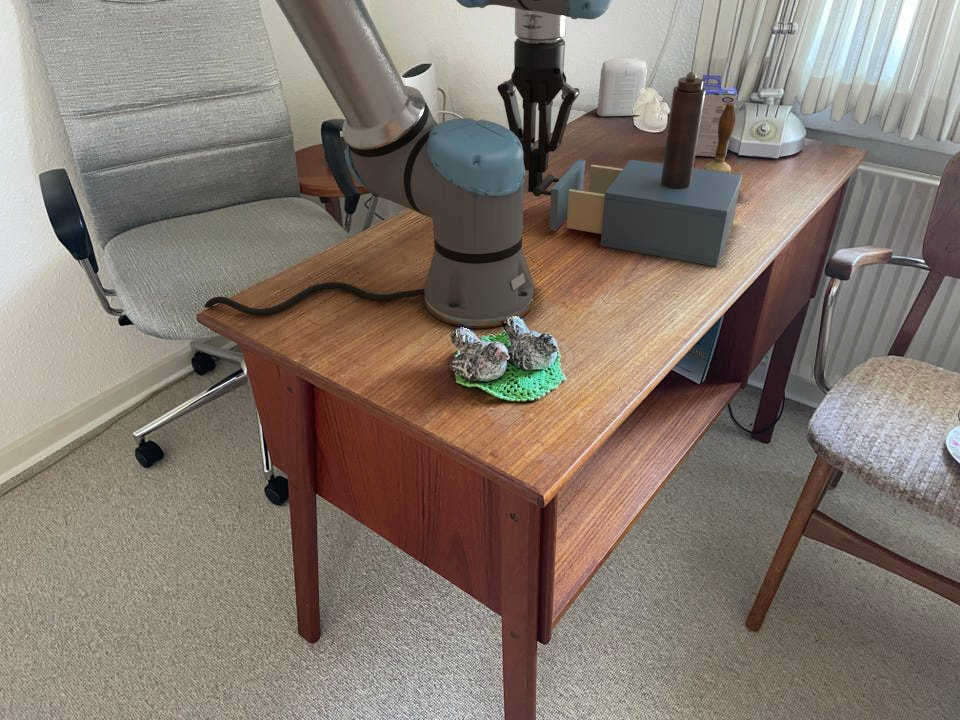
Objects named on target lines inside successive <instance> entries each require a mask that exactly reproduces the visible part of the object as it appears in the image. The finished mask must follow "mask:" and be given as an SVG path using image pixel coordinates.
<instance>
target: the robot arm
mask: <svg viewBox="0 0 960 720" xmlns="http://www.w3.org/2000/svg"><path fill="white" fill-rule="evenodd" d="M455 1H456V2H457V3H458V4H459V5H461V6H462V7H464V8H467V9H476V8H480V9H484V8H485V7H487V6H499V7H500V6H501V7H506V8H512V9H514V35H515V37H516V39H515V40H514V43H513V46H514V47H513V52H514V53H513V62H514V63H513V64H514V65H513V66H514V68H513V71H512V73H511V77H510V78H509V79H508V80H505V81H503V82H501V83H500V84H499V85H498V86H497V88H496V89H497V92H498V93H499V95H500V97H501V99H502V100H503V101H502V102H503V105H504V111H505V115H506V120H507V124H508V128H507V127H506V126H504V125H501V124H499V123H496V122H493V121H490V120H486V119H479V120H475V119H474V118H470V117H469V118H468V117H467V118H465V117H464V118H452V119H448V120H444V121H441V122H440V123H438V122H437V121H436V120H435V118H434V116H433V114H432V112H431V110H430V107H429V106H428V104H427V102H426V100H425V97H424V95H423V94H422V92H421V91H420V90H419V89H417V88H416V87H413V86H409V85H405V84H404V81H403V80H402V77H401V75H400V73H399V71H398V69H397V68H396V66H395V63H394V61H393V59H392V57H391V55H390V53H389V51H388V49H387V47H386V45H385V43H384V41H383V39H382V37H381V35H380V33H379V30H378V29H377V27H376V25H375V23H374V21H373V19H372V17H371V15H370V13H369V11H368V9H367V6H366V4H365V2H364V1H363V0H275V2H276V4H277V6H278V8H279V9H280V10H281V12H282V14H283V16H284V17H285V19H286V21H287V22H288V24H289V26H290V27H291V29H292V31H293V32H294V34H295V36H296V38H297V39H298V41H299V43H300V44H301V47H303V49H304V51H305V53H306V55H307V56H308V58H309V60H310V61H311V62H312V64H313V66H314V68H315V70H316V71H317V73H318V75H319V76H320V78H321V80H322V81H323V83H324V85H325V86H326V89H327V90H328V92H329V93H330V95H331V96H332V98H333V100H334V102H335V104H336V105H337V106H338V108H339V110H340V112H341V113H342V115H343V117H344V118H345V119H344V122H343V125H342V129H341V134H342V137H343V139H344V143H345V144H346V148H345V149H344V152H343V153H344V159H345V162H346V165H347V169H348V171H349V172H350V175H351V176H352V177H353V179H354V180H355V181H356V182H357V183H358V184H359V185H360V186H361V187H363V188H364V189H365V190H367V191H368V192H370V193H371V194H373V195H375V196H376V197H379V198H381V199H384V200H387V201H390V202H392V203H394V204H397V205H400V206H402V207H404V208H407V209H409V210H412V211H414V212H416V213H419V214H421V215H423V216H425V217H428V218H430V219H431V220H432V229H433V239H434V240H433V241H434V250H433V254H432V257H431V261H430V265H429V267H428V272H427V274H426V275H427V276H426V278H425V282H424V287H423V288H418V289H410V290H403V291H397V292H393V293H387V294H379V293H372V292H368V291H366V290H364V289H361V288H358V287H356V286H355V285H352V284H349V283H346V282H340V281H330V282H329V281H328V282H322V283H317V284H314V285H312V286H309V287H307V288H305V289H304V290H302V291H300V292H298V293H297V294H295V295H294V296H292V297H290V298H289V299H287V300H285V301H284V302H281V303H279V304H276V305H274V306H269V307H264V308H255V307H251V306H246V305H244V304H242V303H239V302H238V301H235V300H234V299H231V298H228V297H225V296H214V297H212V298H210V299H208V301H206V302H205V304H204V306H203V308H204V309H209V308H212V307H214V306H215V305H217V304H223V305H225V306H228V307H230V308H232V309H234V310H236V311H239V312H241V313H244V314H247V315H249V316H250V315H251V316H259V317H260V316H269V315H275V314H276V313H280V312H282V311H285V310H287V309H288V308H291V307H292V306H294V305H295V304H297V303H298V302H300V301H301V300H303V299H305V298H306V297H308V296H310V295H312V294H314V293H317V292H319V291H320V292H321V291H325V290H334V289H336V290H342V291H346V292H350V293H351V294H354V295H357V296H359V297H361V298H363V299H366V300H369V301H374V302H391V301H396V300H401V299H406V298H407V299H408V298H414V297H422V296H424V297H423V301H424V306H425V308H426V310H427V311H428V313H430V314H431V316H433V317H434V318H436V319H437V320H439V321H441V322H443V323H446V324H448V325H452V326H454V327H455V326H456V327H460V326H464V327H463V328H469V329H487V328H496V327H501V326H504V325H503V324H504V321H505V320H506V319H507V318H509V317H512V316H519V317H521V318H524V317H525V316H526V315H527V314H528V313H529V312H530V311H531V310H532V308H533V307H534V304H535V296H536V295H535V284H534V283H535V282H534V279H533V276H532V274H531V271H530V267H529V265H528V264H529V263H528V261H527V258H526V256H525V252H524V250H523V233H524V232H523V229H524V228H523V227H524V203H525V201H524V200H525V179H526V171H528V180H527V181H528V183H527V184H528V185H527V192H528V193H533V189H534V188H535V187H536V186H537V185H538V184H539V183H540V182H541V181H542V180H543V176H544V175H543V174H544V173H545V172H547V170H548V169H549V158H550V157H549V156H550V152H551V153H552V152H555V151H556V150H558V149H559V148H560V147H561V145H562V141H563V138H564V135H565V132H566V128H567V124H568V121H569V118H570V115H571V110H572V107H573V105H574V102H575V101H576V100H577V98H578V97H579V95H580V94H581V90H580V89H579V88H578V87H573V86H572V85H570V84H569V83H568V82H567V76H566V74H565V70H564V68H565V53H566V52H565V51H566V49H565V48H566V41H565V40H564V38H563V37H565V36H566V33H567V18H571V19H572V20H577V19H579V20H580V19H582V20H596V19H598V18H600V17H602V16H603V15H604V14H605V12H607V10H608V9H609V8H610V6H611V4H612V2H613V0H455ZM516 90H517V91H516ZM516 92H518V94H519V96H520V97H521V99H522V109H523V118H521V114H520V113H521V112H520V108H519V104H518V98H517V94H516ZM560 92H561V95H560V98H561V100H562V102H561V104H560V106H559V110H558V113H557V116H556V120H555V124H554V126H553V131H552V111H553V110H552V108H553V104H554V99H555V98H556V97H557V96H558V94H559V93H560ZM537 109H538V131H537V132H538V133H537V134H538V135H537V142H536V125H537ZM522 119H523V120H522ZM551 133H552V134H551ZM536 145H537V147H535V146H536Z"/></svg>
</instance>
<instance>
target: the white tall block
mask: <svg viewBox="0 0 960 720" xmlns="http://www.w3.org/2000/svg"><path fill="white" fill-rule="evenodd" d="M647 72H648V71H647V62H646V61H645V60H643V59H640V58H637V57H636V58H635V57H628V56H627V57H626V56H625V57H614V58H611V59H608V60H606V61H603V62H602V65H601V70H600V78H599V90H598V100H597V110H596V114H597V115H598V116H599V117H630V116H631V117H633V113H632V110H633V105H634V104H635V102H636V100H637V98H638V96H639V93H640V90H641V89H642V88H646V81H647V75H648V74H647Z"/></svg>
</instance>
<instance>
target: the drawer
mask: <svg viewBox="0 0 960 720" xmlns="http://www.w3.org/2000/svg"><path fill="white" fill-rule="evenodd" d="M585 169H586V160H585V159H577V160H576V162H575V163H574V164H573V165H572V166H571V167H570V168H569V169H568V170H567V171H566V172H565V173H564V174H563V175H562V176H561V177H560V178H558V177H555V175H553V173H548V174H547V175H546V176H545V177H544V178H542V181H541V182H540V183H539V184H538V185H537V186H536V187H535V188H534V189H533V192H532V195H533V196H534V197H537V198H539V197H540V196H541V195H544V196H550V207H549V208H550V209H549V230H551V231H558V229H559V228H560V227H561V226H562V224H563V223H564V222H565V221H566V228H567V229H570V230H577V231H583V232H588V233H592V234H598V235H599V234H600V235H601V233H602V222H603V210H604V199H605V192H606V191H607V190H608V188H609V187H610V186H611V184H612V183H613V182H614V181H615V179H616V178H617V177H618V175H619V174H620V173H621V172H622V170H623V169H624V168H619V167H611V166H604V165H600V164H599V165H598V164H591V165H590V169H589V182H588V191H587V190H586V191H585V190H584V183H585V172H586V171H585ZM553 183H555V184H554V185H553V186H552V187H551V188H550V190H548V188H549V187H550V186H551V185H552V184H553Z"/></svg>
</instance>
